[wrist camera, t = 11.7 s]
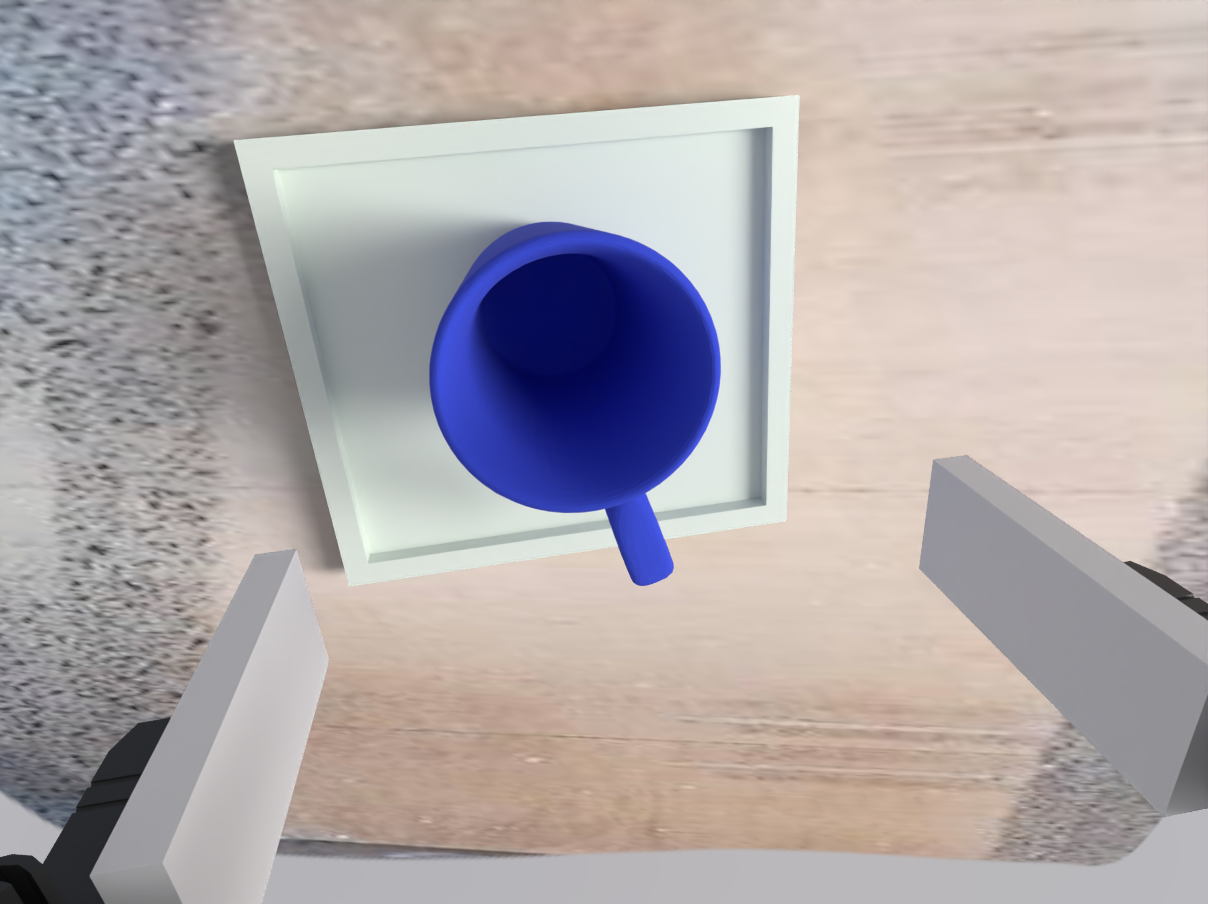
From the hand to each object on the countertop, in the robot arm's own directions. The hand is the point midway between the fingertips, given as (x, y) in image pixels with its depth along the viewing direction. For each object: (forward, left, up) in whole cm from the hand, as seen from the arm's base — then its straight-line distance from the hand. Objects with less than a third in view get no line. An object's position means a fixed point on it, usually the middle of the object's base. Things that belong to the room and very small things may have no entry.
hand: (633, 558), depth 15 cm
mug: (0, 0, -17) cm, 17 cm away
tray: (0, 0, -17) cm, 17 cm away
